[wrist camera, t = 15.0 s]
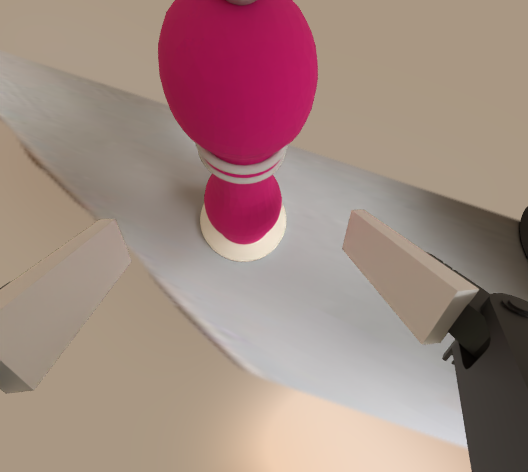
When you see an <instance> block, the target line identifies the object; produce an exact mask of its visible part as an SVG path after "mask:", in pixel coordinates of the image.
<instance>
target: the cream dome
mask: <svg viewBox="0 0 528 472" xmlns="http://www.w3.org/2000/svg"><path fill="white" fill-rule="evenodd" d="M200 225H201V230H202V233H203V236H204V238H205V240H206V241H207V243H208V244H209V245H210V246H211V248H212V249H213V250H214V251H215V252H216V253H218V254H219V255H221V256H222V257H224V258H226V259H229V260H232V261H237V262H250V261H255V260H258V259H261V258H263V257H265V256H266V255H268V254H269V253H271V252H272V251H273V250H274V249H275V248H276V247H277V245H278V244H279V242H280V241H281V239H282V237H283V235H284V232H285V229H286V212H285V208H284V206H283V204H282V206H281V211H280V215H279V218H278V220H277V222H276V224H275V225H274V226H273V228H272V229H271V230H270V231H269V232H267V233H266V235H265V236H264V237H263V238H261V239H260V240H259V241H257V242H255V243H252V244H245V245H242V244H236V243H233V242H231V241H229V240H228V239H226V238H225V237H224V236H223V235H222V234H221V233H220V232H218V231H217V230H216V229H215V228H214V226H213V225H212V224H211V222H210V221H209V219H208V216H207V213H206V210H205V203H204V204H203V207H202V210H201V215H200Z"/></svg>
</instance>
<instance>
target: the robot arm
mask: <svg viewBox="0 0 528 472" xmlns="http://www.w3.org/2000/svg"><path fill="white" fill-rule="evenodd" d="M520 235H521V241H522V244H523V247H524V250H525V253H526V255H527V257H528V207H527V208H526V209H525V211H524V212H523V215H522V218H521V222H520ZM342 249H343V250H344V252H345V253H346V254H347V255H348V256H349V258H350V259H351V260H352V261H353V262H354V264H355V265H356V266H357V267H358V268H359V270H360V271H361V272H362V273H363V274H364V276H365V277H366V278H367V279H368V280H369V282H370V283H371V284H372V285H373V286H374V288H375V289H376V290H377V291H378V292H379V294H380V295H381V296H382V297H383V298H384V300H385V301H386V302H387V303H388V304H389V306H390V307H391V308H392V309H393V310H394V312H395V313H396V314H397V315H398V316H399V318H400V319H401V320H402V321H403V322H404V324H405V325H406V326H407V327H408V328H409V330H410V331H411V332H412V333H413V334H414V336H415V337H416V338H417V339H418V340H419V342H420V343H421V344H422V345H425V344H433V343H441V341H442V340H443V338H444V337H445V336H446V334H447V333H448V332H449V333H450V334H451V335H452V336H453V337H454V338H455V341H454V342H453V343H452V344H451V346H450V347H449V348H448V349H447V351H446V352H445V353H444V355H443V360H445V361H446V360H447V359H448V358H449V357H450V356H451V355H453V358H454V360H453V361H452V364H454V365H455V370H456V376H457V382H458V389H459V395H460V401H461V407H462V414H463V420H464V426H465V432H466V438H467V445H468V451H469V457H470V463H471V469H472V472H528V302H527V301H525V300H523V299H520V298H517V297H514V296H512V295H507V294H503V293H493V294H489V293H488V292H487V291H485V290H484V289H482V288H481V287H479V286H478V285H476V284H475V283H473V282H472V281H470V280H469V279H467V278H466V277H464V276H463V275H461V274H460V273H458V272H457V271H456V270H452V268H451V267H450V266H448V265H447V264H443V262H442V261H441V260H439V259H438V258H436V257H435V256H433V255H432V254H429V253H427V252H425V251H423V250H422V249H420V248H419V247H417V246H416V245H414V244H413V243H412V242H410V241H409V240H407V239H406V238H404V237H403V236H401V235H400V234H399V233H397V232H396V231H394V230H393V229H391V228H390V227H388V226H387V225H385V224H384V223H383V222H381V221H380V220H378V219H377V218H375V217H374V216H372V215H371V214H369V213H368V212H367V211H365V210H352V211H351V215H350V219H349V223H348V227H347V231H346V235H345V239H344V244H343V248H342ZM131 261H132V260H131V258H130V255H129V252H128V250H127V247H126V244H125V242H124V239H123V237H122V234H121V232H120V229H119V226H118V224H117V221H116V219H99V220H98V221H97V222H95V223H94V224H92V225H91V226H90V227H88V228H87V229H85V230H84V231H82V232H81V233H80V234H78V235H77V236H75V237H74V238H72V239H71V240H70V241H68V242H67V243H65V244H64V245H63V246H61V247H60V248H58V249H57V250H55V251H54V252H53V253H51V254H50V255H48V256H47V257H46V258H44V259H43V260H41V261H40V262H38V263H37V264H36V265H34V266H33V267H32V268H30V269H29V270H27V271H26V272H25V273H23V274H21V275H20V276H19V277H17V278H16V279H14V280H13V281H11V282H9V283H7V284H6V285H4V286H3V287H2V288H0V389H1V390H2V391H3V392H5V393H15V392H23V391H32V390H35V388H36V387H37V386H38V384H39V383H40V382H41V380H42V379H43V377H44V376H45V375H46V374H47V373H48V371H49V370H50V368H51V367H52V366H53V365H54V363H55V362H56V361H57V359H58V358H59V357H60V355H61V354H62V353H63V351H64V350H65V349H66V347H67V346H68V345H69V343H70V342H71V341H72V340H73V338H74V337H75V336H76V334H77V333H78V331H79V330H80V329H81V328H82V326H83V325H84V324H85V322H86V321H87V320H88V318H89V317H90V316H91V314H92V313H93V312H94V310H95V309H96V307H97V306H98V305H99V304H100V303H101V301H102V300H103V299H104V297H105V296H106V295H107V293H108V292H109V290H110V289H111V288H112V287H113V285H114V284H115V283H116V281H117V280H118V279H119V277H120V276H121V275H122V273H123V272H124V271H125V270H126V268H127V267H128V266H129V264H130V263H131Z"/></svg>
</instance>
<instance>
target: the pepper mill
mask: <svg viewBox="0 0 528 472" xmlns="http://www.w3.org/2000/svg"><path fill="white" fill-rule="evenodd" d="M158 59H159V72H160V78H161V82H162V86H163V90H164V94H165V96H166V99H167V102H168V104H169V107H170V110H171V112H172V114H173V116H174V117H175V119H176V121H177V122H178V123H179V125H180V126H181V128H182V129H183V130H184V132H185V133H186V134H187V135H188V136H189V137H190V138H191V139H192V140H193V141H194V142H195V144H196V146H197V149H198V153H199V156H200V159H201V160H202V162H203V164H204V165H205V166H206V168H207V169H208V170H209V171H210V172H211V173H212V175H211V177H210V178H209V180H208V183H207V185H206V190H205V195H204V203H205V210H206V213H207V216H208V219H209V221H210V222H211V224H212V225H213V226H214V228H215V229H216V230H217V231H218V232H220V233H221V234H222V235H223V236H224V237H225V238H226V239H228V240H229V241H231V242H233V243H236V244H242V245H245V244H252V243H255V242H257V241H259V240H260V239H261V238H263V237H264V236H265V235H266V233H267V232H269V231H270V230H271V229H272V228H273V226H274V225H275V224H276V222H277V220H278V218H279V215H280V211H281V206H282V197H281V192H280V189H279V185H278V182H277V181H276V179H275V177H274V176H273V174H274V173H275V172H276V171H277V170H278V169H279V167H280V166H281V164H282V162H283V160H284V157H285V154H286V150H287V147H288V144H289V143H290V142H292V141H293V140H294V138H295V137H296V136H297V135H298V134H299V132H300V131H301V129H302V127H303V125H304V124H305V122H306V120H307V118H308V115H309V113H310V111H311V109H312V104H313V101H314V96H315V92H316V87H317V80H318V66H317V55H316V46H315V42H314V39H313V36H312V32H311V30H310V28H309V26H308V23H307V21H306V19H305V17H304V16H303V14H302V12H301V10H300V9H299V7H298V6H297V5H296V4H295V3H294V2H293V1H292V0H175V1H174V2H173V4H172V5H171V7H170V8H169V9H168V11H167V12H166V16H165V19H164V22H163V25H162V29H161V33H160V38H159V43H158Z"/></svg>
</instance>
